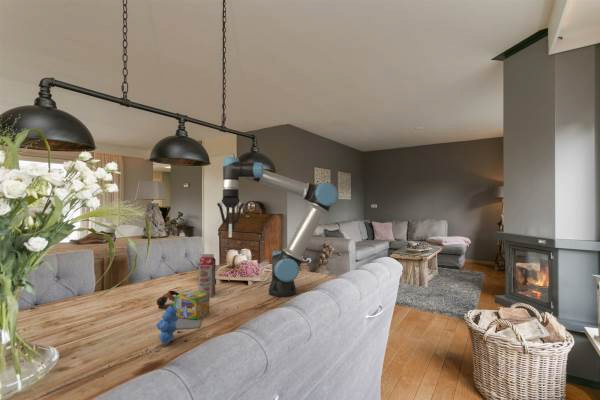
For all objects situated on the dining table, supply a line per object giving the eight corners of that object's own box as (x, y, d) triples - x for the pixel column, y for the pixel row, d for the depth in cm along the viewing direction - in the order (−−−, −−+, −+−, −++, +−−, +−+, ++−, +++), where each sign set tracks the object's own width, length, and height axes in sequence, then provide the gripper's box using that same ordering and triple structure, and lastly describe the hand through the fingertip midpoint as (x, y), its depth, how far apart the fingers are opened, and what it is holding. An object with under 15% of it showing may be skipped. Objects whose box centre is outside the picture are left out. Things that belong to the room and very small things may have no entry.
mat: (203, 312, 130) (203, 311, 130) (199, 328, 113) (199, 326, 113) (170, 314, 127) (170, 313, 127) (160, 331, 110) (160, 329, 110)
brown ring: (165, 303, 142) (175, 288, 143) (178, 314, 139) (188, 299, 140) (147, 305, 131) (157, 288, 132) (160, 317, 128) (171, 300, 129)
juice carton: (202, 293, 157) (203, 253, 157) (215, 294, 157) (215, 253, 157) (198, 297, 150) (198, 255, 151) (210, 297, 150) (211, 255, 150)
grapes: (162, 334, 107) (163, 301, 108) (181, 334, 108) (182, 301, 108) (148, 350, 96) (148, 313, 96) (169, 349, 96) (169, 313, 96)
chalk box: (197, 298, 119) (167, 294, 123) (196, 321, 119) (166, 316, 123) (210, 292, 128) (182, 289, 132) (209, 313, 128) (181, 309, 132)
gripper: (244, 189, 148) (243, 236, 147) (217, 189, 145) (216, 236, 144) (244, 188, 140) (244, 237, 140) (216, 188, 137) (215, 238, 137)
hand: (230, 237), depth 142 cm, fingers closed
